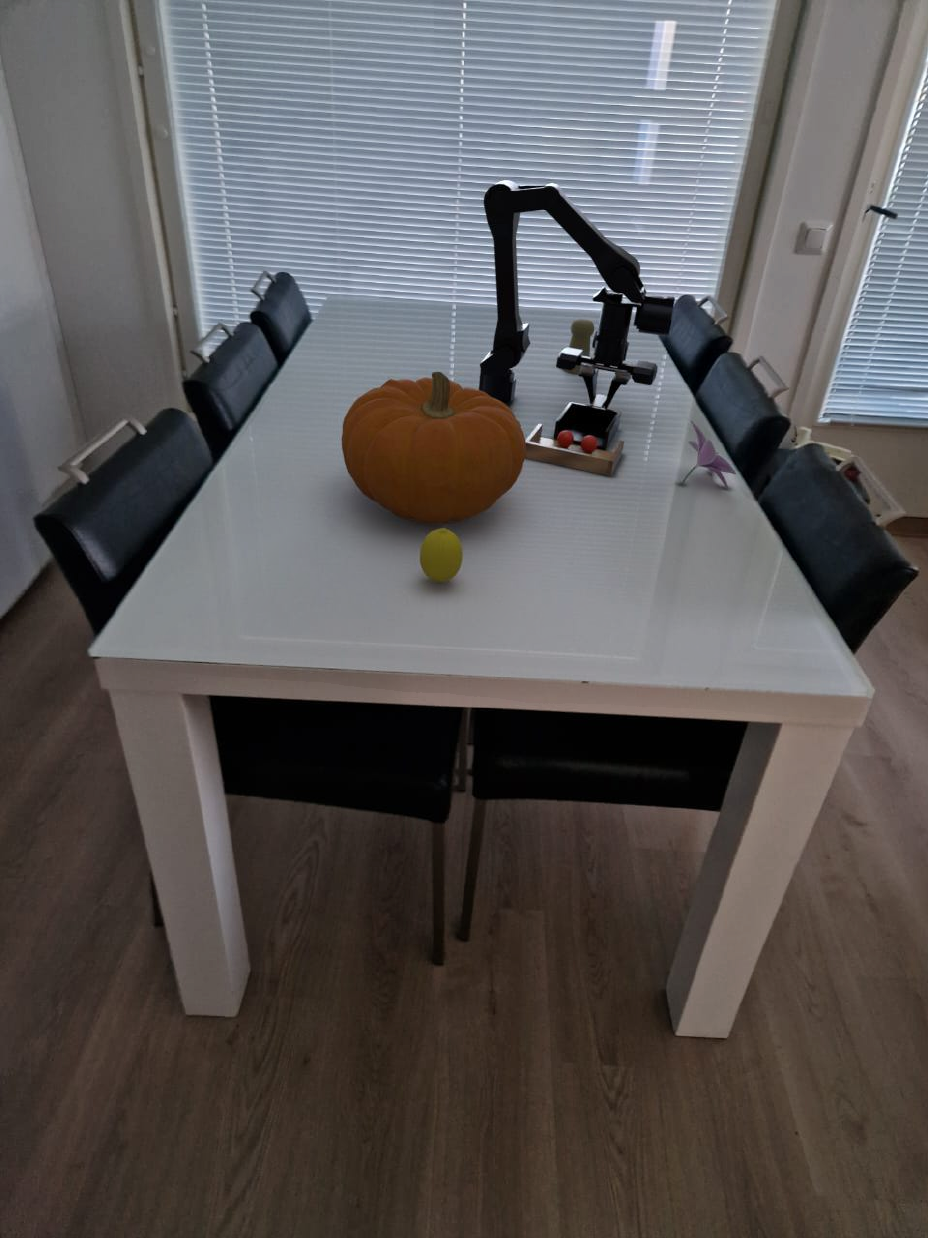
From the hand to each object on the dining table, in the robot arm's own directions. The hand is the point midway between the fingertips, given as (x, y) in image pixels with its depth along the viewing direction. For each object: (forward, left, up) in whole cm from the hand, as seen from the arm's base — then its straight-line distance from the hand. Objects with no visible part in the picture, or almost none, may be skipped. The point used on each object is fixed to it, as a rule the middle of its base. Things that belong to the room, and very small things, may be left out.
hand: (599, 409), depth 164 cm
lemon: (-6, -72, -2) cm, 72 cm away
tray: (0, -22, -2) cm, 22 cm away
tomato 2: (+2, -19, 0) cm, 19 cm away
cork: (-11, +28, -2) cm, 30 cm away
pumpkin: (-16, -50, -2) cm, 53 cm away
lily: (+23, -21, -2) cm, 31 cm away
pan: (0, -7, -1) cm, 7 cm away
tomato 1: (-2, -19, 0) cm, 19 cm away
